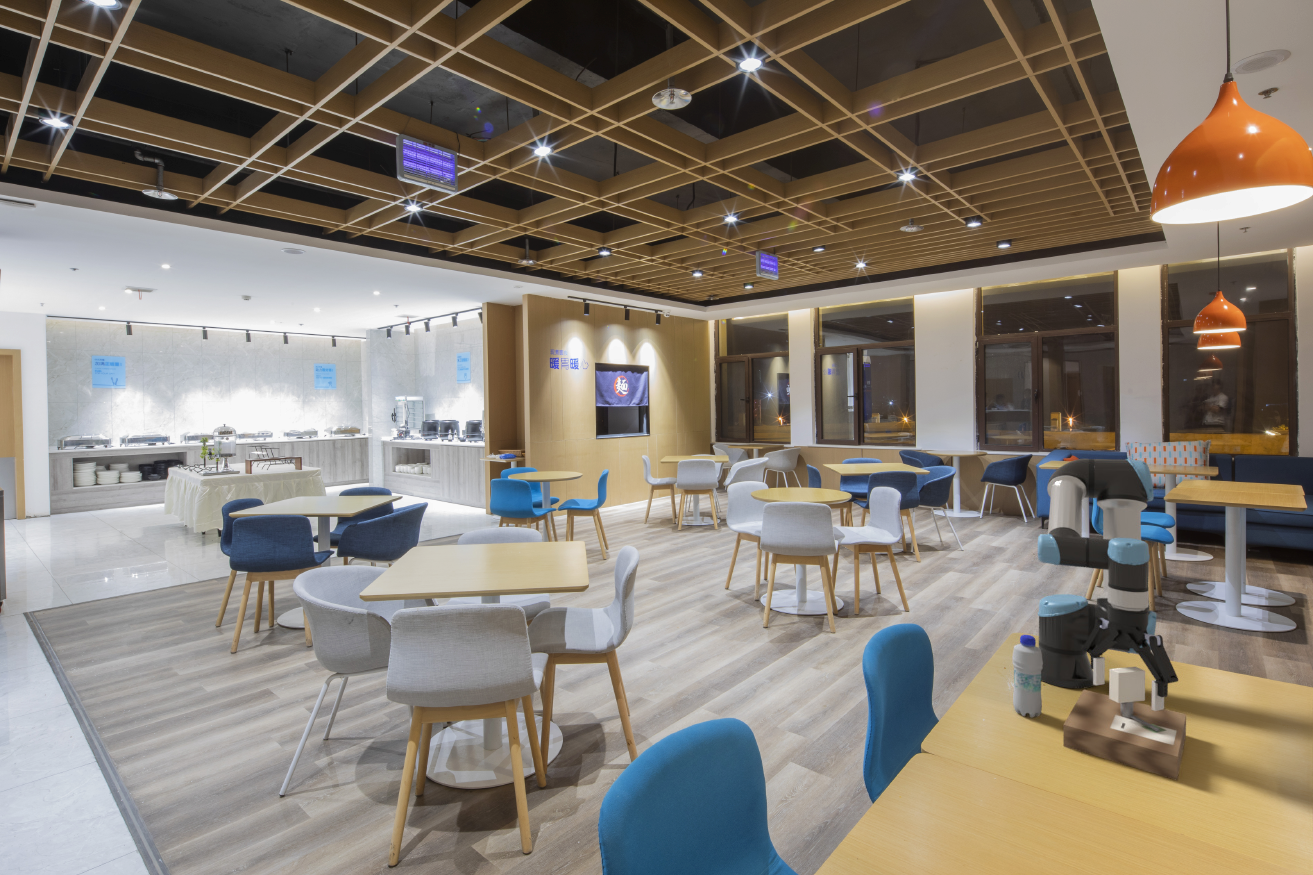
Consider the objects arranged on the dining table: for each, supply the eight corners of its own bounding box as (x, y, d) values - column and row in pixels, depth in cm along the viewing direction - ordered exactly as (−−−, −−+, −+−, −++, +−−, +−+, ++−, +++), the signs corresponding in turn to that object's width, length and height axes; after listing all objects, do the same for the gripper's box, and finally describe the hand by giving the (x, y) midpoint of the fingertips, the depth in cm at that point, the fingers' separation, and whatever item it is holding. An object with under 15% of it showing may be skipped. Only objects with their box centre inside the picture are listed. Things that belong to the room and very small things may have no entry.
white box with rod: (1144, 733, 137) (1145, 685, 136) (1109, 714, 146) (1109, 668, 145) (1172, 730, 138) (1172, 682, 137) (1135, 711, 147) (1135, 666, 146)
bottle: (1034, 707, 161) (1034, 630, 160) (1048, 719, 154) (1048, 640, 153) (1007, 706, 161) (1007, 630, 160) (1019, 719, 155) (1019, 639, 154)
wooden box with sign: (1063, 745, 142) (1063, 724, 142) (1083, 708, 159) (1083, 689, 159) (1177, 780, 128) (1177, 756, 128) (1185, 735, 146) (1186, 713, 145)
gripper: (1199, 621, 133) (1198, 718, 134) (1089, 590, 157) (1088, 672, 158) (1174, 625, 131) (1173, 723, 132) (1066, 593, 155) (1065, 676, 156)
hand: (1127, 696), depth 145 cm, fingers open, 13 cm apart
